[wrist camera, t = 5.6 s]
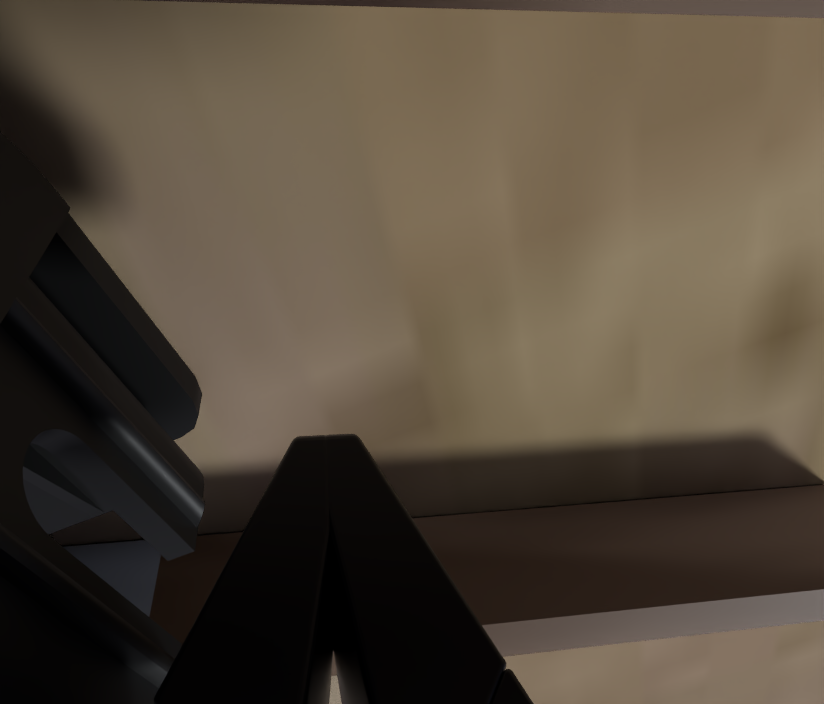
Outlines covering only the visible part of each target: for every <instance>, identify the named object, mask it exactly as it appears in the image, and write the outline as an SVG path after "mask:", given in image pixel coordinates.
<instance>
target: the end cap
mask: <svg viewBox="0 0 824 704" xmlns="http://www.w3.org/2000/svg"><path fill="white" fill-rule="evenodd" d="M69 210H70V207H69V205H68V204H67V203H66V202H65V201H64V199H63V198H62V197H61V196H60V195H59V194H58V192H57V191H56V190H55V189H54V188H53V186H52V185H51V184H50V183H49V182H48V181H47V179H46V178H45V177H44V176H43V175H42V173H41V172H40V171H39V170H38V169H37V168H36V166H35V165H34V164H33V163H32V162H31V161H30V160H29V159H28V158H27V157H26V156H25V155H24V154H23V153H21V152H20V151H19V150H18V149H17V148H16V147H15V146H14V145H13V144H12V143H11V142H10V141H9V140H8V139H7V138H6V137H5V136H4V135H3V134H2V133H1V132H0V704H155V703H154V697H155V695H156V693H157V691H158V689H159V688H160V686H161V684H162V682H163V680H164V678H165V676H166V675H167V673H168V671H169V669H170V667H171V665H172V663H173V662H174V660H175V658H176V656H177V654H178V652H179V650H180V649H181V646H182V643H180V642H179V641H178V640H177V639H175V638H174V637H173V636H172V635H171V634H169V633H168V632H167V631H166V630H164V629H163V628H162V627H161V626H159V625H158V624H157V623H156V622H155V621H153V620H152V619H151V618H150V617H148V616H147V615H146V614H145V613H143V612H142V611H141V610H140V609H139V608H137V607H136V606H135V605H134V604H132V603H131V602H130V601H129V600H127V599H126V598H125V597H124V596H123V595H121V594H120V593H119V592H118V591H116V590H115V589H114V588H113V587H111V586H110V585H109V584H108V583H107V582H105V581H104V580H103V579H102V578H100V577H99V576H98V575H97V574H95V573H94V572H93V571H92V570H90V569H89V568H88V567H87V566H86V565H84V564H83V563H82V562H81V561H79V560H78V559H77V558H76V557H74V556H73V555H72V554H71V553H70V552H68V551H67V550H66V549H65V548H63V547H62V546H61V545H60V544H58V543H57V542H56V541H55V540H54V539H52V538H51V537H50V536H49V535H48V534H50V533H53V532H56V531H59V530H61V529H64V528H67V527H69V526H72V525H75V524H77V523H80V522H83V521H85V520H88V519H91V518H94V517H96V516H99V515H102V514H104V513H107V512H110V511H112V510H113V511H114V512H115V513H116V514H118V515H119V516H120V517H121V518H122V519H123V520H124V521H125V522H126V523H127V524H128V525H129V526H130V527H132V528H133V529H134V530H135V531H136V532H137V533H138V534H139V535H140V536H141V537H142V538H143V539H145V540H146V541H147V542H148V543H149V544H150V545H151V546H152V547H153V548H154V549H155V550H156V551H157V552H159V553H160V554H161V555H162V556H163V557H164V558H165V559H166V560H167V561H169V560H172V559H175V558H177V557H180V556H183V555H186V554H189V553H191V552H194V551H195V546H196V539H197V532H198V525H199V523H200V520H201V517H202V514H203V511H204V506H205V501H204V500H203V499H202V497H203V490H204V477H203V475H202V473H201V472H200V470H199V469H198V468H197V467H196V465H195V464H194V463H193V462H192V461H191V460H190V459H189V458H188V456H187V455H186V454H185V453H184V452H183V451H182V450H181V448H180V447H179V446H178V445H177V444H176V443H175V442H174V441H173V440H175V439H178V438H180V437H182V436H184V435H185V434H186V433H188V432H189V431H191V430H192V429H194V427H195V424H196V421H197V418H198V415H199V409H200V403H201V397H202V392H201V390H200V387H199V385H198V382H197V380H196V377H195V375H194V374H193V373H192V371H191V370H190V369H189V368H188V366H187V365H186V364H185V362H184V361H183V360H182V359H181V357H180V356H179V355H178V353H177V352H176V351H175V350H174V348H173V347H172V346H171V344H170V343H169V342H168V341H167V339H166V338H165V337H164V335H163V334H162V333H161V332H160V330H159V329H158V328H157V326H156V325H155V324H154V323H153V321H152V320H151V319H150V317H149V316H148V315H147V314H146V312H145V311H144V310H143V308H142V307H141V306H140V305H139V303H138V302H137V301H136V299H135V298H134V297H133V296H132V294H131V293H130V292H129V290H128V289H127V288H126V287H125V285H124V284H123V283H122V281H121V280H120V279H119V278H118V276H117V275H116V274H115V272H114V271H113V270H112V269H111V267H110V266H109V265H108V263H107V262H106V261H105V260H104V258H103V257H102V256H101V254H100V253H99V252H98V251H97V249H96V248H95V247H94V245H93V244H92V243H91V242H90V240H89V239H88V238H87V236H86V235H85V234H84V233H83V231H82V230H81V229H80V227H79V226H78V225H77V224H76V222H75V221H74V220H73V218H72V217H71V216H70V215H69V213H68V212H69Z"/></svg>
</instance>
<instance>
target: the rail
mask: <svg viewBox="0 0 824 704" xmlns="http://www.w3.org/2000/svg"><path fill="white" fill-rule="evenodd" d="M144 1H183V2H222V3H261V4H300V5H338V6H377V7H416V8H455V9H494V10H533V11H572V12H611V13H650V14H689V15H728V16H766V17H805V18H824V0H144ZM412 519H413V521H414V522H415V524H416V525H417V527H418V528H419V530H420V531H421V533H422V534H423V536H424V537H425V539H426V540H427V542H428V544H429V545H430V547H431V548H432V550H433V551H434V553H435V554H436V556H437V557H438V559H439V560H440V562H441V563H442V565H443V566H444V568H445V570H446V571H447V573H448V574H449V576H450V577H451V579H452V580H453V582H454V583H455V585H456V586H457V588H458V589H459V591H460V593H461V594H462V596H463V597H464V599H465V600H466V602H467V603H468V605H469V606H470V608H471V609H472V611H473V612H474V614H475V616H476V617H477V619H478V620H479V622H480V623H481V625H482V626H483V628H484V629H485V631H486V632H487V634H488V635H489V637H490V639H491V640H492V642H493V643H494V645H495V646H496V648H497V649H498V651H499V652H500V654H501V655H502V657H503V656H512V655H521V654H530V653H539V652H548V651H557V650H565V649H574V648H583V647H592V646H601V645H610V644H619V643H628V642H637V641H646V640H654V639H663V638H672V637H681V636H690V635H699V634H708V633H717V632H726V631H734V630H743V629H752V628H761V627H770V626H779V625H788V624H797V623H806V622H814V621H823V620H824V485H816V486H804V487H792V488H779V489H767V490H755V491H742V492H730V493H718V494H705V495H693V496H681V497H669V498H656V499H644V500H632V501H619V502H607V503H595V504H583V505H570V506H558V507H546V508H533V509H521V510H509V511H497V512H484V513H472V514H460V515H447V516H435V517H423V518H412ZM242 533H243V532H238V533H226V534H214V535H202V536H197V539H196V546H195V551H194V552H191V553H189V554H186V555H183V556H180V557H177V558H175V559H172V560H169V561H167V560H166V559H165V558H164V557H163V556H162V555H161V554H160V553H159V552H157V551H156V550H155V549H154V548H153V547H152V546H151V545H150V544H149V543H148V542H147V541H146V540H140V541H128V542H116V543H103V544H91V545H79V546H66V547H63V548H65V549H66V550H67V551H68V552H70V553H71V554H72V555H73V556H74V557H76V558H77V559H78V560H79V561H81V562H82V563H83V564H84V565H86V566H87V567H88V568H89V569H90V570H92V571H93V572H94V573H95V574H97V575H98V576H99V577H100V578H102V579H103V580H104V581H105V582H107V583H108V584H109V585H110V586H111V587H113V588H114V589H115V590H116V591H118V592H119V593H120V594H121V595H123V596H124V597H125V598H126V599H127V600H129V601H130V602H131V603H132V604H134V605H135V606H136V607H137V608H139V609H140V610H141V611H142V612H143V613H145V614H146V615H147V616H148V617H150V618H151V619H152V620H153V621H155V622H156V623H157V624H158V625H159V626H161V627H162V628H163V629H164V630H166V631H167V632H168V633H169V634H171V635H172V636H173V637H174V638H175V639H177V640H178V641H179V642H180V643H182V645H183V643H184V641H185V639H186V637H187V636H188V634H189V632H190V630H191V628H192V626H193V624H194V623H195V621H196V619H197V617H198V615H199V613H200V611H201V610H202V608H203V606H204V604H205V602H206V600H207V598H208V597H209V595H210V593H211V591H212V589H213V587H214V585H215V584H216V582H217V580H218V578H219V576H220V574H221V572H222V571H223V569H224V567H225V565H226V563H227V561H228V559H229V557H230V556H231V554H232V552H233V550H234V548H235V546H236V544H237V543H238V541H239V539H240V537H241V535H242ZM181 647H182V646H181ZM334 675H337V670H336V664H335V657H334V651H333V661H332V673H331V676H334Z"/></svg>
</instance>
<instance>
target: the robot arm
mask: <svg viewBox="0 0 824 704" xmlns="http://www.w3.org/2000/svg"><path fill="white" fill-rule="evenodd" d="M333 651H334V657H335V664H336V670H337V676H338V683H339V689H340V695H341V701H342V704H533V702H532V701H531V699H530V698H529V696H528V695H527V693H526V692H525V690H524V688H523V687H522V685H521V684H520V682H519V681H518V679H517V678H516V676H515V675H514V673H513V672H512V670H510V669H506V662H505V660H504V658H503V657H502V655H501V654H500V652H499V651H498V649H497V648H496V646H495V645H494V643H493V642H492V640H491V639H490V637H489V635H488V634H487V632H486V631H485V629H484V628H483V626H482V625H481V623H480V622H479V620H478V619H477V617H476V616H475V614H474V612H473V611H472V609H471V608H470V606H469V605H468V603H467V602H466V600H465V599H464V597H463V596H462V594H461V593H460V591H459V589H458V588H457V586H456V585H455V583H454V582H453V580H452V579H451V577H450V576H449V574H448V573H447V571H446V570H445V568H444V566H443V565H442V563H441V562H440V560H439V559H438V557H437V556H436V554H435V553H434V551H433V550H432V548H431V547H430V545H429V544H428V542H427V540H426V539H425V537H424V536H423V534H422V533H421V531H420V530H419V528H418V527H417V525H416V524H415V522H414V521H413V519H412V517H411V516H410V514H409V513H408V511H407V510H406V508H405V507H404V505H403V504H402V502H401V501H400V499H399V498H398V496H397V494H396V493H395V491H394V490H393V488H392V487H391V485H390V484H389V482H388V481H387V479H386V478H385V476H384V475H383V473H382V471H381V470H380V468H379V467H378V465H377V464H376V462H375V461H374V459H373V458H372V456H371V455H370V453H369V452H368V450H367V448H366V447H365V445H364V444H363V442H362V441H361V439H360V438H359V437H358V436H357V435H355V434H337V435H326V436H325V435H317V436H299V437H296V438H295V439H294V440H293V441H292V442H291V444H290V446H289V448H288V450H287V452H286V453H285V455H284V457H283V459H282V461H281V463H280V465H279V466H278V468H277V470H276V472H275V474H274V476H273V478H272V479H271V481H270V483H269V485H268V487H267V489H266V491H265V492H264V494H263V496H262V498H261V500H260V502H259V504H258V505H257V507H256V509H255V511H254V513H253V515H252V517H251V518H250V520H249V522H248V524H247V526H246V528H245V530H244V531H243V533H242V535H241V537H240V539H239V541H238V543H237V544H236V546H235V548H234V550H233V552H232V554H231V556H230V557H229V559H228V561H227V563H226V565H225V567H224V569H223V571H222V572H221V574H220V576H219V578H218V580H217V582H216V584H215V585H214V587H213V589H212V591H211V593H210V595H209V597H208V598H207V600H206V602H205V604H204V606H203V608H202V610H201V611H200V613H199V615H198V617H197V619H196V621H195V623H194V624H193V626H192V628H191V630H190V632H189V634H188V636H187V637H186V639H185V641H184V643H183V645H182V647H181V649H180V650H179V652H178V654H177V656H176V658H175V660H174V662H173V663H172V665H171V667H170V669H169V671H168V673H167V675H166V676H165V678H164V680H163V682H162V684H161V686H160V688H159V689H158V691H157V693H156V695H155V697H154V703H155V704H329V697H330V685H331V673H332V661H333ZM505 669H506V670H505Z"/></svg>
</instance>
